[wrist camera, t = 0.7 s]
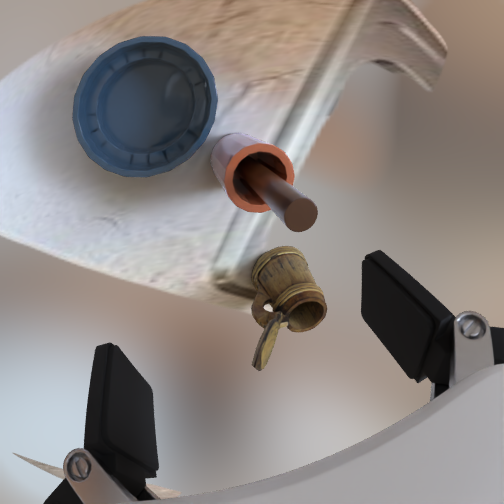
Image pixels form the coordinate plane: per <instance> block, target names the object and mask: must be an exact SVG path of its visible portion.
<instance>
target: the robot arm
mask: <svg viewBox="0 0 504 504" xmlns="http://www.w3.org/2000/svg"><path fill="white" fill-rule="evenodd" d="M361 301H362V302H361V314H362V317H363V319H364V321H365V322H366V323H367V324H368V326H369V327H370V328H371V329H372V331H373V332H374V333H375V334H376V335H377V337H378V338H379V339H380V341H381V342H382V343H383V345H384V346H385V347H386V348H387V350H388V351H389V352H390V353H391V355H392V356H393V357H394V359H395V360H396V361H397V363H398V364H399V365H400V367H401V368H402V369H403V370H404V372H405V373H406V374H407V376H408V377H409V378H410V379H413V378H414V379H415V380H416V382H417V383H419V382H421V381H422V380H424V379H425V378H427V377H428V378H429V380H430V381H431V382H432V386H431V397H430V402H429V403H427V404H426V405H424V406H423V407H421V408H420V409H418V410H416V411H415V412H413V413H411V414H410V415H408V416H407V417H405V418H403V419H402V420H400V421H398V422H397V423H395V424H393V425H392V426H390V427H388V428H386V429H384V430H382V431H381V432H379V433H377V434H375V435H373V436H371V437H369V438H367V439H365V440H363V441H361V442H359V443H357V444H355V445H353V446H351V447H349V448H347V449H344V450H342V451H340V452H338V453H335V454H333V455H331V456H328V457H326V458H324V459H321V460H319V461H316V462H314V463H311V464H308V465H306V466H303V467H300V468H298V469H295V470H292V471H289V472H286V473H283V474H280V475H277V476H274V477H270V478H267V479H263V480H260V481H256V482H253V483H249V484H245V485H241V486H237V487H232V488H228V489H224V490H219V491H214V492H209V493H203V494H197V495H190V496H183V497H176V498H168V499H160V498H159V497H158V496H157V495H156V494H155V493H153V492H152V491H151V490H150V489H149V488H148V487H147V486H146V482H145V478H154V477H157V476H156V471H157V470H158V468H159V463H158V454H157V445H156V434H155V421H154V405H153V392H152V389H151V387H150V385H149V384H148V383H147V382H146V380H145V379H144V378H143V377H142V376H141V374H140V373H139V372H138V371H137V370H136V368H135V367H134V366H133V365H132V363H131V362H130V361H129V360H128V358H127V357H126V356H125V355H124V353H123V352H122V351H121V349H120V348H119V347H118V346H117V345H113V344H112V343H107V344H103V345H99V346H97V347H96V349H95V354H94V360H93V366H92V373H91V379H90V387H89V394H88V403H87V412H86V423H85V437H84V449H83V448H77V449H74V450H72V451H71V452H69V453H68V455H67V456H66V458H65V460H64V465H63V470H64V474H65V477H66V478H65V479H64V480H63V481H62V482H61V484H60V485H59V486H58V487H57V488H56V489H55V490H54V491H53V492H52V494H51V495H50V496H49V497H48V498H47V499H46V500H45V502H44V504H504V328H498V327H489V324H488V321H487V320H486V319H485V317H483V316H482V315H481V314H479V313H477V312H473V311H465V312H462V313H460V314H459V315H458V316H457V317H455V316H454V315H453V314H452V313H451V312H450V311H449V310H448V309H447V308H446V307H445V306H444V305H443V304H442V303H441V302H440V301H438V300H437V299H436V298H435V297H434V296H433V295H432V294H431V293H430V292H429V291H428V290H426V289H425V288H424V287H423V286H422V285H421V284H420V283H419V282H418V281H416V280H415V279H414V278H413V277H412V276H411V275H410V274H408V273H407V272H406V271H405V270H404V269H402V268H401V267H400V266H399V265H398V264H397V263H395V262H394V261H393V260H392V259H391V258H389V257H388V256H387V255H386V254H385V253H384V252H382V251H381V250H378V251H375V252H372V253H370V254H368V255H366V256H365V260H363V261H362V300H361Z"/></svg>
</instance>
